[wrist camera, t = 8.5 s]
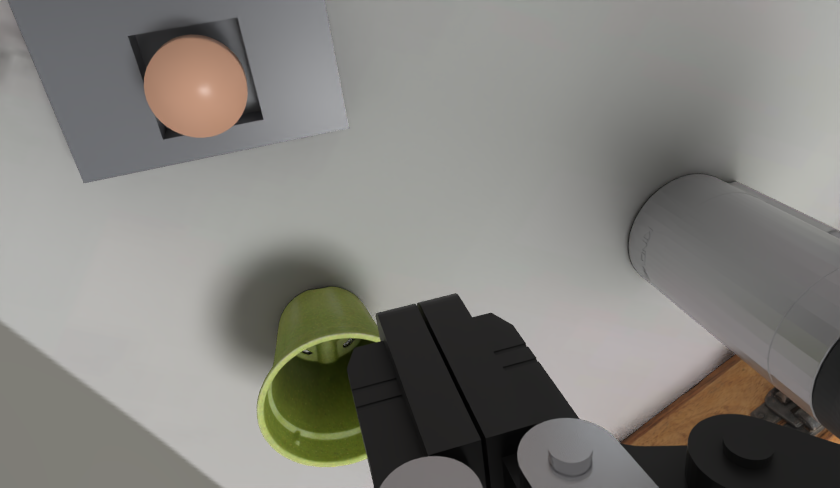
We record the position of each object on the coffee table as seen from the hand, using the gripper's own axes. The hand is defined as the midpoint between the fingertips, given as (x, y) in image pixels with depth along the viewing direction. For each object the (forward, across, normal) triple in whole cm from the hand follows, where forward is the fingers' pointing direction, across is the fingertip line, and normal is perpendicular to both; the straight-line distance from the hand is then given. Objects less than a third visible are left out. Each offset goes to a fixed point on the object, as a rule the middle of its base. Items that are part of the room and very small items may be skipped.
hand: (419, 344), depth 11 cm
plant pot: (+28, +2, +17) cm, 33 cm away
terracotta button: (+26, +5, -1) cm, 27 cm away
